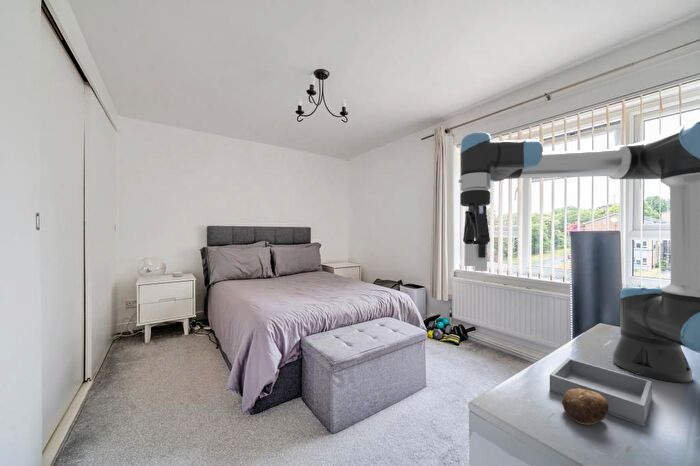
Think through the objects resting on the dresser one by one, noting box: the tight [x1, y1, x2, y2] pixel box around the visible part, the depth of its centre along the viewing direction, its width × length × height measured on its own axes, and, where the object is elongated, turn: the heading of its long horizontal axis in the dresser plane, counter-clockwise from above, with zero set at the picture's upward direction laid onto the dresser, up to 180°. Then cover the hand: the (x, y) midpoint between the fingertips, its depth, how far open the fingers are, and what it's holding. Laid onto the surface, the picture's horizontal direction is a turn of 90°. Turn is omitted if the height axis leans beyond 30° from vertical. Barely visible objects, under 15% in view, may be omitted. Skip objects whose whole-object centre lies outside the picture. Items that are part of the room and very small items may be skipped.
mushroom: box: [561, 388, 609, 426], centre depth 55 cm, size 8×8×6 cm
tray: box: [549, 357, 653, 427], centre depth 64 cm, size 15×15×4 cm
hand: (474, 268), depth 76 cm, fingers open, 13 cm apart
